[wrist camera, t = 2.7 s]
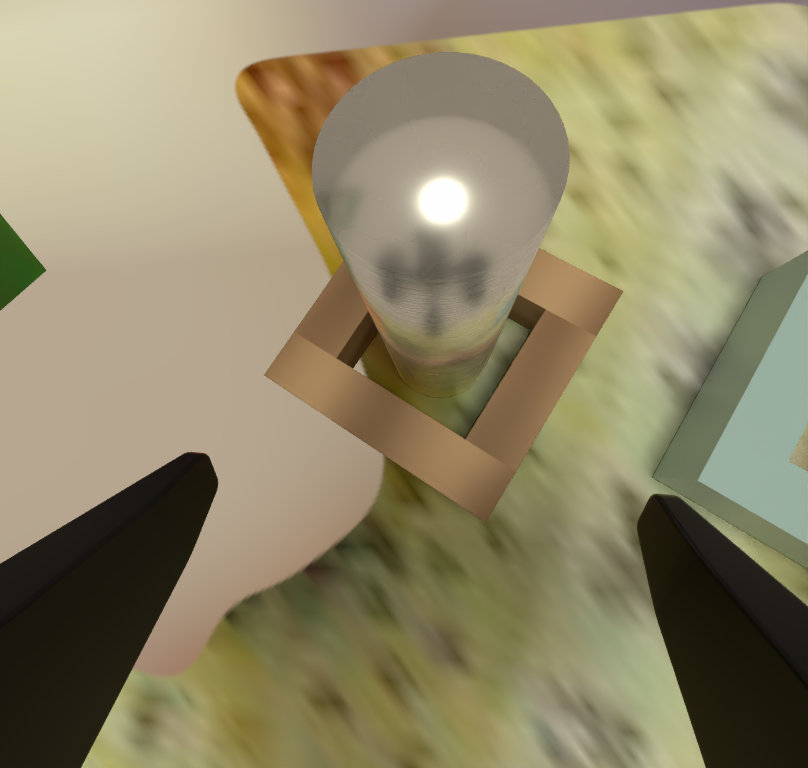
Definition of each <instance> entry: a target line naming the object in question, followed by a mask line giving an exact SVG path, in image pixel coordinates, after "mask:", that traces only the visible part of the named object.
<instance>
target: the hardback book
mask: <svg viewBox="0 0 808 768" xmlns="http://www.w3.org/2000/svg"><path fill="white" fill-rule="evenodd" d="M45 271H46V269H45V268H44V267H43V266H42V264H41V263H40V262H39V261H38V260H37V259H36V257H35V256H34V255H33V254H32V252H31V251H30V250H29V248H28V247H27V246H26V245H25V244H24V242H23V241H22V240H21V239H20V238H19V236H18V235H17V234H16V233H15V231H14V230H13V229H12V228H11V227H10V225H9V224H8V223H7V222H6V221H5V219H4V218H3V217H2V215H1V214H0V310H2V309H3V308H4V307H5V306H6V305H7V304H8V303H10V302H11V301H12V300H13V299H14V298H15V297H16V296H17V295H19V294H20V293H21V292H22V291H23V290H24V289H25V288H27V287H28V286H29V285H30V284H31V283H32V282H34V281H35V280H36V279H37V278H38V277H39V276H40V275H41V274H43V273H44V272H45Z"/></svg>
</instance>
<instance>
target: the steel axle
mask: <svg viewBox="0 0 808 768" xmlns="http://www.w3.org/2000/svg"><path fill="white" fill-rule="evenodd" d="M569 157H570V154H569V145H568V138H567V135H566V131H565V127H564V124H563V122H562V120H561V117H560V115H559V113H558V111H557V110H556V108H555V106H554V105H553V103H552V102H551V100H550V99H549V98H548V96H547V95H546V94H545V93H544V92H543V91H542V89H541V88H540V87H539V86H537V85H536V84H535V83H534V82H533V81H532V80H531V79H529V78H528V77H527V76H525V75H524V74H522V73H521V72H519V71H518V70H516V69H514V68H512V67H510V66H508V65H506V64H504V63H502V62H499V61H496V60H493V59H491V58H488V57H483V56H479V55H475V54H468V53H459V52H438V53H429V54H422V55H418V56H413V57H409V58H406V59H403V60H399V61H396V62H394V63H392V64H389V65H387V66H385V67H383V68H380V69H379V70H377V71H375V72H374V73H372V74H370V75H368V76H367V77H365V78H364V79H363V80H361V81H360V82H359V83H357V84H356V85H355V86H354V87H353V88H351V89H350V90H349V91H348V92H347V93H346V94H345V95H344V96H343V97H342V98H341V100H340V101H339V102H338V103H337V104H336V105H335V107H334V108H333V110H332V111H331V113H330V114H329V116H328V117H327V119H326V120H325V122H324V125H323V127H322V129H321V131H320V133H319V136H318V139H317V142H316V145H315V149H314V155H313V160H312V181H313V190H314V193H315V197H316V201H317V204H318V207H319V209H320V211H321V213H322V216H323V218H324V220H325V222H326V224H327V226H328V228H329V230H330V232H331V234H332V237H333V239H334V241H335V243H336V245H337V247H338V249H339V251H340V253H341V255H342V257H343V259H344V261H345V263H346V266H347V268H348V270H349V272H350V274H351V276H352V278H353V280H354V282H355V284H356V286H357V288H358V290H359V292H360V294H361V297H362V299H363V301H364V303H365V305H366V307H367V309H368V311H369V313H370V315H371V317H372V319H373V321H374V323H375V326H376V328H377V330H378V332H379V334H380V336H381V338H382V340H383V342H384V344H385V346H386V348H387V350H388V352H389V354H390V357H391V359H392V361H393V363H394V365H395V367H396V369H397V371H398V373H399V375H400V376H401V378H402V379H403V381H404V382H405V383H406V384H407V385H408V386H409V387H410V388H412V389H413V390H415V391H416V392H418V393H420V394H423V395H425V396H429V397H436V398H445V397H451V396H455V395H458V394H460V393H462V392H464V391H466V390H467V389H469V388H470V387H471V386H472V385H473V384H474V383H475V382H476V381H477V380H478V379H479V377H480V376H481V374H482V372H483V370H484V368H485V366H486V364H487V361H488V359H489V357H490V355H491V353H492V350H493V348H494V346H495V344H496V342H497V339H498V337H499V335H500V333H501V330H502V328H503V326H504V324H505V322H506V319H507V317H508V315H509V313H510V311H511V308H512V306H513V304H514V302H515V300H516V297H517V295H518V293H519V291H520V288H521V286H522V284H523V282H524V280H525V277H526V275H527V273H528V271H529V269H530V266H531V264H532V262H533V260H534V258H535V255H536V253H537V251H538V249H539V246H540V244H541V242H542V240H543V238H544V235H545V233H546V231H547V229H548V227H549V224H550V222H551V220H552V218H553V216H554V213H555V211H556V209H557V207H558V204H559V202H560V200H561V197H562V194H563V192H564V189H565V186H566V182H567V177H568V172H569Z"/></svg>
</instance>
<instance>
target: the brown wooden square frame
mask: <svg viewBox="0 0 808 768" xmlns="http://www.w3.org/2000/svg"><path fill="white" fill-rule="evenodd" d="M622 292H623V291H622V290H620V289H618V288H616V287H614V286H612V285H610V284H608V283H606V282H604V281H602V280H600V279H598V278H597V277H595V276H593V275H591V274H589V273H587V272H585V271H583V270H581V269H579V268H577V267H575V266H573V265H571V264H569V263H567V262H565V261H563V260H561V259H559V258H557V257H555V256H553V255H551V254H550V253H548V252H546V251H544V250H542V249H540V248H539V249H538V251H537V253H536V255H535V258H534V260H533V262H532V264H531V266H530V269H529V271H528V273H527V275H526V277H525V280H524V282H523V284H522V286H521V288H520V291H519V293H518V295H517V297H516V300H515V302H514V304H513V306H512V308H511V311H510V313H509V315H508V318H510V319H512V320H514V321H515V322H517V323H519V324H521V325H523V326H524V327H526V328H528V329H530V330H531V332H530V334H529V335H528V337H527V338H526V340H525V342H524V343H523V345H522V346H521V348H520V350H519V351H518V353H517V355H516V356H515V358H514V359H513V361H512V363H511V364H510V366H509V368H508V369H507V371H506V372H505V374H504V376H503V377H502V379H501V380H500V382H499V384H498V385H497V387H496V389H495V390H494V392H493V393H492V395H491V397H490V398H489V400H488V402H487V403H486V405H485V406H484V408H483V410H482V411H481V413H480V414H479V416H478V418H477V419H476V421H475V423H474V424H473V426H472V427H471V429H470V431H469V432H468V434H467V436H466V437H465V439H464V438H462V437H461V436H459V435H457V434H456V433H454V432H453V431H451V430H449V429H448V428H446V427H445V426H443V425H442V424H440V423H438V422H437V421H435V420H434V419H432V418H430V417H429V416H427V415H426V414H424V413H422V412H421V411H419V410H418V409H416V408H415V407H413V406H411V405H410V404H408V403H407V402H405V401H403V400H402V399H400V398H399V397H397V396H395V395H394V394H392V393H391V392H389V391H387V390H386V389H384V388H383V387H381V386H380V385H378V384H376V383H375V382H373V381H372V380H370V379H368V378H367V377H365V376H364V375H362V374H360V373H359V372H357V371H356V370H354V369H353V368H354V366H355V365H356V363H357V362H358V360H359V359H360V357H361V356H362V354H363V353H364V351H365V350H366V348H367V347H368V345H369V344H370V342H371V341H372V339H373V338H374V336H375V335H376V333H377V332H378V330H377V328H376V326H375V323H374V321H373V319H372V317H371V315H370V313H369V311H368V309H367V307H366V305H365V303H364V301H363V299H362V297H361V294H360V292H359V290H358V288H357V286H356V284H355V282H354V280H353V278H352V276H351V274H350V272H349V270H348V268H347V266H346V263H345V261H343V263H342V264H341V266H340V267H339V268H338V270H337V271H336V273H335V274H334V276H333V277H332V278H331V280H330V281H329V283H328V284H327V286H326V287H325V289H324V290H323V291H322V293H321V294H320V296H319V297H318V298H317V300H316V301H315V303H314V304H313V306H312V307H311V309H310V310H309V311H308V313H307V314H306V316H305V317H304V319H303V320H302V321H301V323H300V324H299V326H298V327H297V329H296V330H295V331H294V333H293V334H292V336H291V337H290V339H289V340H288V341H287V343H286V344H285V346H284V347H283V349H282V350H281V351H280V353H279V354H278V356H277V357H276V359H275V360H274V362H273V363H272V364H271V366H270V367H269V369H268V370H267V372H266V373H265V374H264V376H266V377H267V378H269V379H270V380H272V381H273V382H275V383H277V384H278V385H279V386H281V387H283V388H284V389H286V390H287V391H289V392H290V393H292V394H293V395H295V396H296V397H298V398H299V399H301V400H302V401H304V402H305V403H307V404H308V405H310V406H311V407H313V408H314V409H316V410H317V411H319V412H320V413H322V414H323V415H325V416H326V417H328V418H329V419H331V420H332V421H334V422H335V423H337V424H338V425H340V426H341V427H343V428H344V429H346V430H347V431H349V432H350V433H352V434H353V435H355V436H356V437H358V438H359V439H361V440H362V441H364V442H365V443H367V444H368V445H370V446H371V447H373V448H374V449H376V450H378V451H379V452H380V453H382V454H383V455H385V456H386V457H388V458H389V459H391V460H392V461H394V462H395V463H397V464H398V465H400V466H401V467H403V468H404V469H406V470H407V471H409V472H410V473H412V474H413V475H415V476H416V477H418V478H419V479H421V480H422V481H424V482H425V483H427V484H428V485H430V486H431V487H433V488H434V489H436V490H437V491H439V492H440V493H442V494H443V495H445V496H446V497H448V498H449V499H451V500H452V501H454V502H455V503H457V504H458V505H460V506H461V507H463V508H464V509H466V510H467V511H469V512H470V513H472V514H473V515H475V516H476V517H478V518H479V519H481V520H482V521H484V522H485V523H486V521H487V520H488V518H489V516H490V515H491V513H492V511H493V510H494V508H495V506H496V504H497V503H498V501H499V499H500V498H501V496H502V494H503V493H504V491H505V489H506V488H507V486H508V484H509V483H510V481H511V479H512V478H513V476H514V474H515V473H516V471H517V469H518V467H519V466H520V464H521V462H522V461H523V459H524V457H525V456H526V454H527V452H528V451H529V449H530V447H531V446H532V444H533V442H534V441H535V439H536V437H537V435H538V434H539V432H540V430H541V429H542V427H543V425H544V424H545V422H546V420H547V419H548V417H549V415H550V414H551V412H552V410H553V409H554V407H555V405H556V404H557V402H558V400H559V398H560V397H561V395H562V393H563V392H564V390H565V388H566V387H567V385H568V383H569V382H570V380H571V378H572V377H573V375H574V373H575V372H576V370H577V368H578V366H579V365H580V363H581V361H582V360H583V358H584V356H585V355H586V353H587V351H588V350H589V348H590V346H591V345H592V343H593V341H594V340H595V338H596V336H597V335H598V333H599V331H600V329H601V328H602V326H603V324H604V323H605V321H606V319H607V318H608V316H609V314H610V313H611V311H612V309H613V308H614V306H615V304H616V303H617V301H618V299H619V297H620V296H621V294H622Z"/></svg>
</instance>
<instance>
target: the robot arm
mask: <svg viewBox="0 0 808 768" xmlns="http://www.w3.org/2000/svg"><path fill="white" fill-rule="evenodd" d="M217 488H218V479H217V476H216V473H215V471H214V468H213V465H212V463H211V460H210V458H209V456H208V455H207V454H204V453H196V452H187V453H184V454H183V455H181V456H179V457H177V458H176V459H174V460H172V461H171V462H169V463H167V464H166V465H164V466H162V467H161V468H159V469H158V470H156V471H154V472H153V473H151V474H149V475H148V476H146V477H144V478H142V479H141V480H139V481H137V482H136V483H134V484H133V485H131V486H129V487H127V488H126V489H124V490H122V491H121V492H119V493H117V494H116V495H114V496H112V497H111V498H109V499H107V500H106V501H104V502H102V503H101V504H99V505H97V506H96V507H94V508H92V509H91V510H89V511H88V512H86V513H84V514H82V515H81V516H79V517H78V518H76V519H74V520H72V521H71V522H69V523H67V524H66V525H64V526H62V527H61V528H59V529H57V530H56V531H54V532H52V533H51V534H49V535H47V536H46V537H44V538H43V539H41V540H39V541H38V542H36V543H34V544H32V545H31V546H29V547H27V548H26V549H24V550H22V551H21V552H19V553H17V554H16V555H14V556H13V557H11V558H9V559H7V560H6V561H4V562H2V563H1V564H0V768H81V767H82V765H83V763H84V761H85V759H86V757H87V755H88V753H89V751H90V749H91V747H92V746H93V744H94V742H95V740H96V738H97V736H98V734H99V732H100V730H101V728H102V726H103V724H104V722H105V720H106V719H107V717H108V715H109V713H110V711H111V709H112V707H113V705H114V703H115V701H116V699H117V697H118V695H119V693H120V692H121V690H122V688H123V686H124V684H125V682H126V680H127V678H128V676H129V674H130V672H131V670H132V668H133V666H134V665H135V662H136V661H137V659H138V657H139V655H140V653H141V651H142V649H143V647H144V645H145V643H146V641H147V639H148V637H149V636H150V634H151V632H152V630H153V628H154V626H155V624H156V622H157V620H158V618H159V616H160V614H161V613H162V611H163V609H164V606H165V605H166V603H167V601H168V599H169V597H170V595H171V593H172V591H173V589H174V587H175V586H176V584H177V582H178V580H179V578H180V576H181V574H182V572H183V570H184V568H185V566H186V564H187V562H188V560H189V558H190V556H191V554H192V551H193V549H194V547H195V544H196V542H197V539H198V537H199V534H200V532H201V529H202V527H203V524H204V522H205V519H206V517H207V514H208V512H209V509H210V507H211V504H212V502H213V499H214V497H215V494H216V492H217ZM637 532H638V537H639V542H640V546H641V551H642V556H643V560H644V565H645V570H646V574H647V579H648V584H649V588H650V593H651V598H652V602H653V606H654V610H655V614H656V617H657V620H658V624H659V627H660V630H661V633H662V636H663V639H664V642H665V645H666V648H667V651H668V654H669V657H670V660H671V663H672V666H673V669H674V672H675V675H676V678H677V682H678V685H679V688H680V691H681V694H682V697H683V700H684V703H685V706H686V709H687V712H688V715H689V718H690V721H691V724H692V727H693V730H694V733H695V736H696V739H697V742H698V745H699V748H700V751H701V754H702V757H703V760H704V763H705V767H706V768H808V606H807V605H806V604H804V603H803V602H802V601H801V600H800V599H799V598H797V597H796V596H795V595H794V594H793V593H792V592H790V591H789V590H788V589H787V588H786V587H784V586H783V585H782V584H781V583H780V582H779V581H777V580H776V579H775V578H774V577H773V576H772V575H770V574H769V573H768V572H767V571H766V570H764V569H763V568H762V567H761V566H760V565H759V564H757V563H756V562H755V561H754V560H753V559H752V558H750V557H749V556H748V555H747V554H746V553H744V552H743V551H742V550H741V549H740V548H739V547H737V546H736V545H735V544H734V543H733V542H731V541H730V540H729V539H728V538H727V537H726V536H724V535H723V534H722V533H721V532H720V531H719V530H717V529H716V528H715V527H714V526H713V525H711V524H710V523H709V522H708V521H707V520H706V519H704V518H703V517H702V516H701V515H700V514H699V513H697V512H696V511H695V510H694V509H693V508H691V507H690V506H689V505H688V504H687V503H686V502H684V501H683V500H682V499H681V498H679V497H677V496H674V495H666V494H653V495H652V496H650V498H649V500H648V502H647V504H646V506H645V508H644V509H643V511H642V513H641V515H640V517H639V519H638V523H637Z"/></svg>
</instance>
